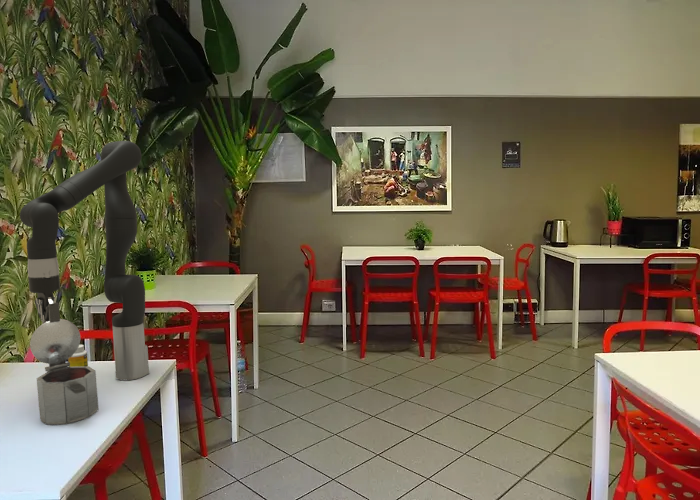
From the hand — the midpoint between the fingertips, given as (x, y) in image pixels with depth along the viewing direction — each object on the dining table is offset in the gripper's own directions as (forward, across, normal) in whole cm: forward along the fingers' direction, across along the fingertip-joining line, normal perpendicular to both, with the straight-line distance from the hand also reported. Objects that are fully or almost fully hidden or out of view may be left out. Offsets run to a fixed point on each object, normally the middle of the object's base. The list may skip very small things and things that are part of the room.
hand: (48, 334), depth 149 cm
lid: (-1, +7, 0) cm, 7 cm away
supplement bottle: (+20, -16, +12) cm, 28 cm away
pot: (+20, +13, 0) cm, 24 cm away
